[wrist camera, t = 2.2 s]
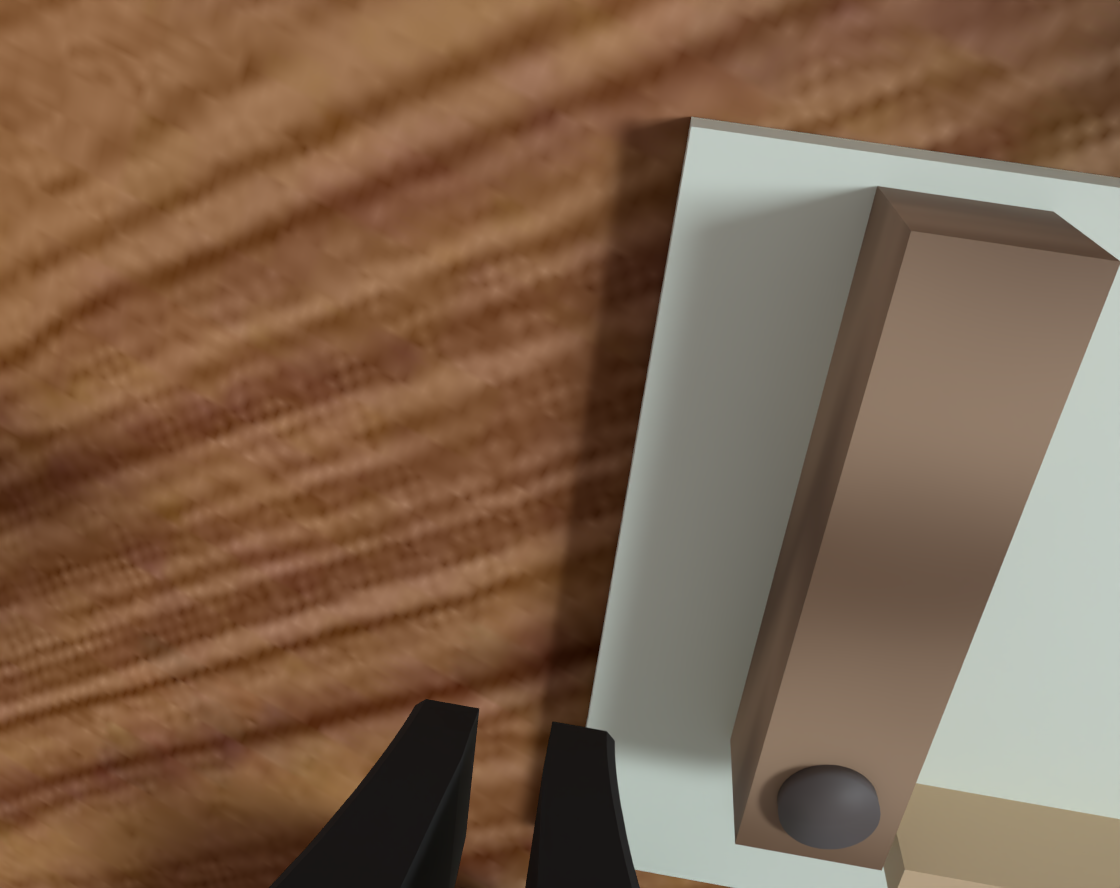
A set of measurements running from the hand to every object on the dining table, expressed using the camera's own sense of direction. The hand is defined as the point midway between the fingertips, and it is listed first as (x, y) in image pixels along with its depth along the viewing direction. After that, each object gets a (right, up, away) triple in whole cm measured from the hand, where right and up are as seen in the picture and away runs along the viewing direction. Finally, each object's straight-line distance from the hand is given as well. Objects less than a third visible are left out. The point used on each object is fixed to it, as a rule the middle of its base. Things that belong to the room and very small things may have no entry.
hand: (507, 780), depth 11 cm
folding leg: (+6, +2, +7) cm, 10 cm away
